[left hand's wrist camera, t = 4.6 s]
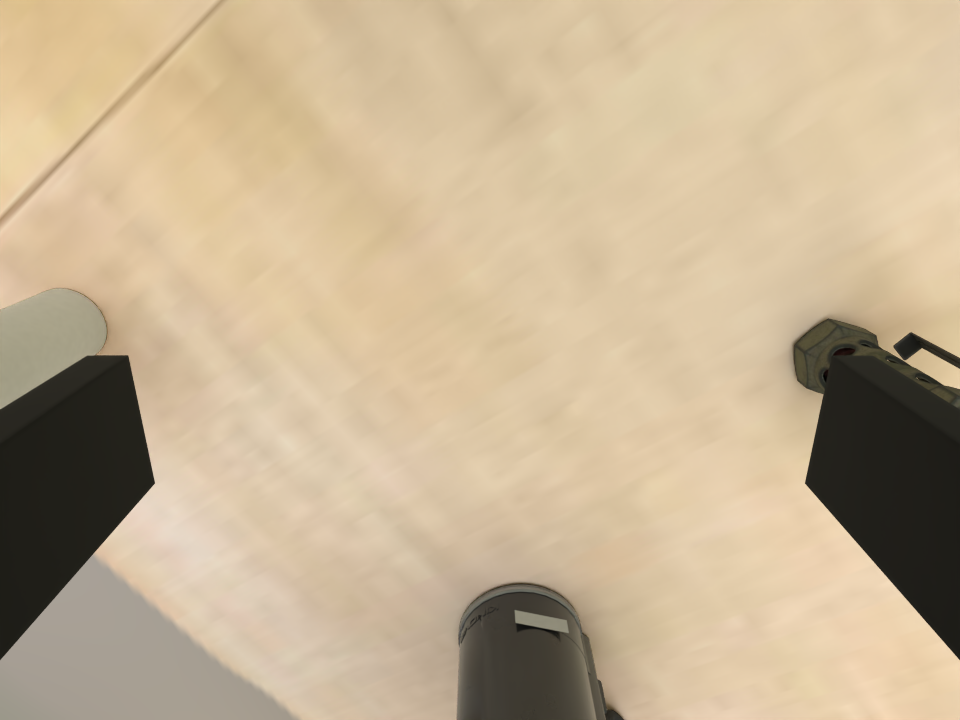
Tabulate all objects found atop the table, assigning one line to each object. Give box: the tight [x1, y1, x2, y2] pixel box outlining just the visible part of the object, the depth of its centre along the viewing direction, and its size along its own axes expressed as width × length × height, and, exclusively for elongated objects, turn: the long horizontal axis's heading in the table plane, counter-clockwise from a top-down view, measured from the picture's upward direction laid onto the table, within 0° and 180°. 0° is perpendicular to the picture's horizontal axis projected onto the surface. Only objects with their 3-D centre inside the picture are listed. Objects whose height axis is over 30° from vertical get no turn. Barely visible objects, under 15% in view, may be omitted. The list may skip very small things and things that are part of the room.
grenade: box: [794, 319, 960, 409], centre depth 34 cm, size 9×6×15 cm, turn 134°
